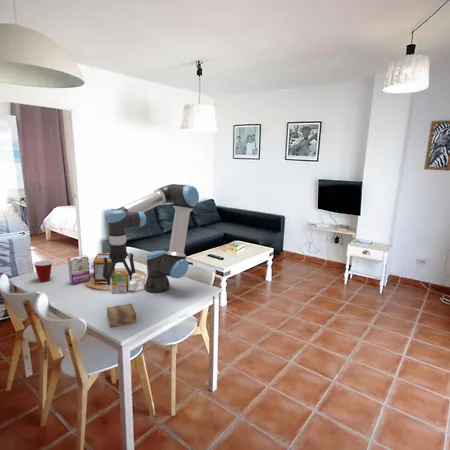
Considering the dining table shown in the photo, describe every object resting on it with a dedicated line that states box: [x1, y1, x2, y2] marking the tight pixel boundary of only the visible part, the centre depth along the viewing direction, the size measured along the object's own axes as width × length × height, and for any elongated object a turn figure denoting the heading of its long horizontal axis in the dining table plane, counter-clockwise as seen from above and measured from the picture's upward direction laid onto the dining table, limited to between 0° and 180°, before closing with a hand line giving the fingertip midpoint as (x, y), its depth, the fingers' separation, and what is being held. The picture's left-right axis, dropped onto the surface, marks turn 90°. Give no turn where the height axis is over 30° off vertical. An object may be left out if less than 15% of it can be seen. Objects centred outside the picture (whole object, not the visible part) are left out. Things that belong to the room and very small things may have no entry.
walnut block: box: [106, 303, 137, 328], centre depth 156 cm, size 12×12×5 cm
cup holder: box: [128, 272, 146, 292], centre depth 195 cm, size 20×11×7 cm, turn 54°
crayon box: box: [111, 270, 129, 295], centre depth 153 cm, size 7×3×12 cm, turn 92°
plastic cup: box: [32, 260, 54, 283], centre depth 202 cm, size 11×11×12 cm
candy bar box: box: [67, 254, 91, 286], centre depth 200 cm, size 11×5×16 cm, turn 135°
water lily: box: [89, 261, 94, 270], centre depth 213 cm, size 15×15×9 cm
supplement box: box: [92, 252, 116, 283], centre depth 205 cm, size 10×15×16 cm
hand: (119, 288), depth 153 cm, fingers closed on crayon box, 8 cm apart
